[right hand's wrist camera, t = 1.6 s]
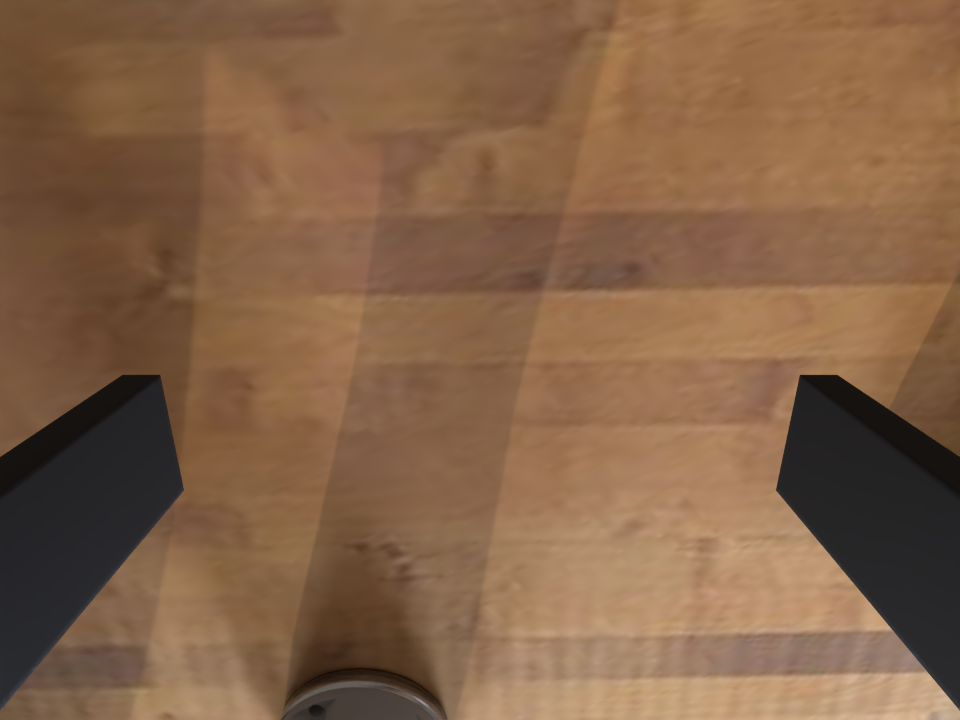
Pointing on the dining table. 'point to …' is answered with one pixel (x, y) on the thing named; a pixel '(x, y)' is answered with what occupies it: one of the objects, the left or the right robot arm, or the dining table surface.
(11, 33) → the dining table surface
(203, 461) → the dining table surface
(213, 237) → the dining table surface
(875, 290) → the dining table surface
